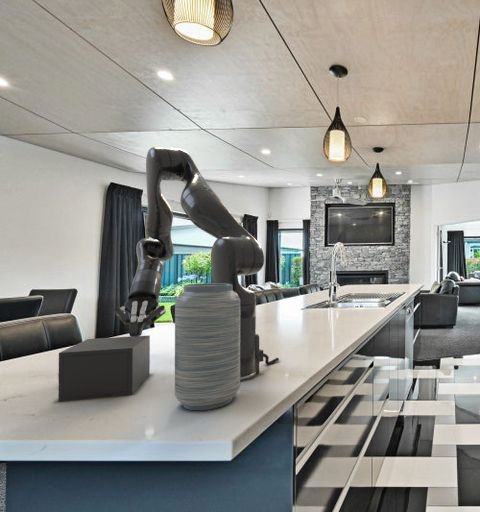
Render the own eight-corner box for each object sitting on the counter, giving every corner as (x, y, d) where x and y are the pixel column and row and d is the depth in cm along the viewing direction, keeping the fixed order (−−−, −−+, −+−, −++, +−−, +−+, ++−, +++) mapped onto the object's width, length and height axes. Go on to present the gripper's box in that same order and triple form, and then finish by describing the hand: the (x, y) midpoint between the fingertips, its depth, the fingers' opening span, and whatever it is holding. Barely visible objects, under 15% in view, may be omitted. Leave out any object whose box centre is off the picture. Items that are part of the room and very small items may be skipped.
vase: (210, 417, 68) (210, 286, 68) (159, 409, 72) (160, 285, 72) (252, 395, 79) (252, 283, 79) (206, 389, 83) (207, 282, 83)
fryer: (87, 380, 90) (87, 338, 90) (149, 375, 94) (149, 335, 94) (58, 401, 76) (58, 352, 76) (132, 394, 80) (132, 347, 80)
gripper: (117, 279, 111) (101, 329, 99) (169, 278, 115) (160, 326, 103) (122, 296, 116) (108, 346, 104) (172, 295, 120) (164, 342, 108)
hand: (134, 336), depth 104 cm, fingers closed
